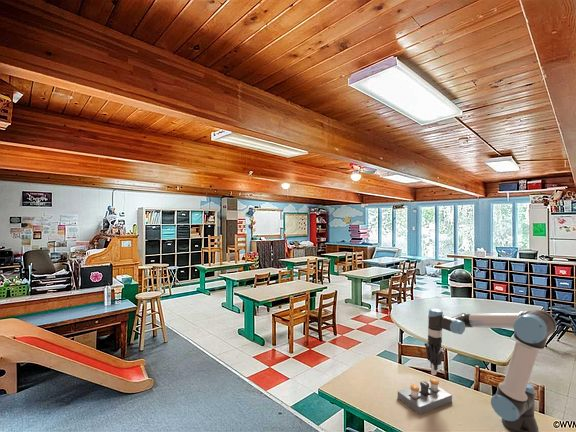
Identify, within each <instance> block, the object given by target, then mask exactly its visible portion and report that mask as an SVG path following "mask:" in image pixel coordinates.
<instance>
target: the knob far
mask: <svg viewBox="0 0 576 432" xmlns="http://www.w3.org/2000/svg"><path fill="white" fill-rule="evenodd" d="M429 381H430V383H431V388H430V390H431V391H432V392H434V393H436V392H438V387H439V384H440V381H439V380H438V379H436V378H434V377H433V378H432V377H431V378H429Z"/></svg>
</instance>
